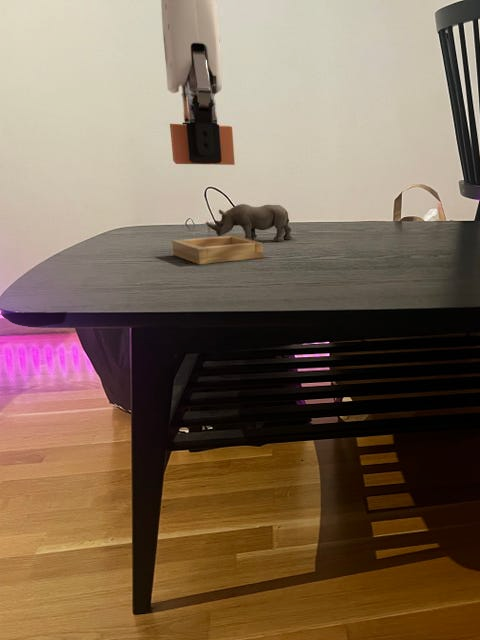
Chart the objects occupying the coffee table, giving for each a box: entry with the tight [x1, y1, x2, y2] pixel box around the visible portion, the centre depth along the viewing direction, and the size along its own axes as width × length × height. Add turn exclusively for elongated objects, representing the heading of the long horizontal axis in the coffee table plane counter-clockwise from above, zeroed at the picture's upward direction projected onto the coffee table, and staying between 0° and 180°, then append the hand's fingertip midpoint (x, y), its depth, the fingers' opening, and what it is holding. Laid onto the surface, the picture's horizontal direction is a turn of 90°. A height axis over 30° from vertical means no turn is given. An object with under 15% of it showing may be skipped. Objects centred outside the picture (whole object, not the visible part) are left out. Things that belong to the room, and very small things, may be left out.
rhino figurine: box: [205, 203, 293, 242], centre depth 118 cm, size 4×14×6 cm, turn 107°
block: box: [169, 123, 236, 166], centre depth 77 cm, size 6×5×4 cm
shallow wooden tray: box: [171, 234, 264, 265], centre depth 104 cm, size 10×9×2 cm
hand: (203, 159), depth 78 cm, fingers closed on block, 4 cm apart
